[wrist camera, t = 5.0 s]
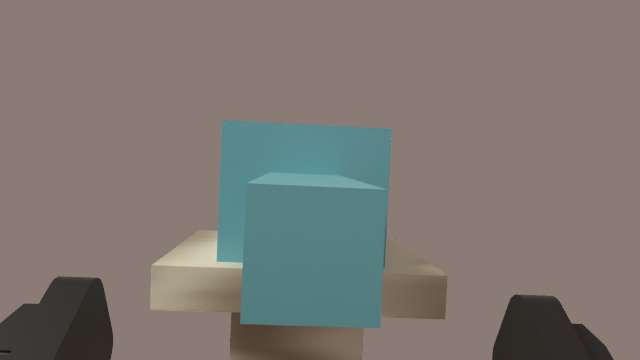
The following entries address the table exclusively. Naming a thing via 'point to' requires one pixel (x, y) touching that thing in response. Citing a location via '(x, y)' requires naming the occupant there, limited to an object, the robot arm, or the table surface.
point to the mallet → (305, 221)
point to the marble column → (285, 340)
